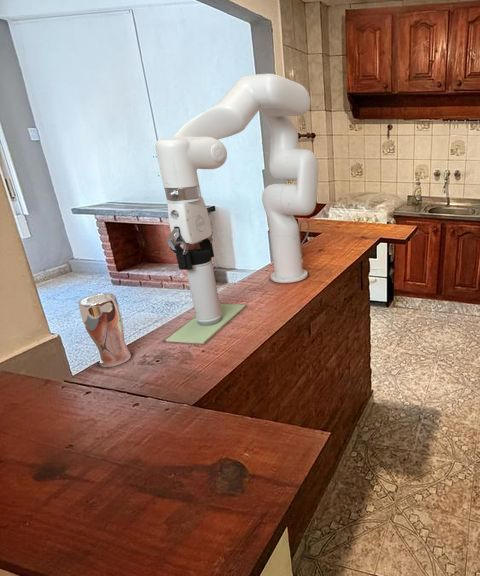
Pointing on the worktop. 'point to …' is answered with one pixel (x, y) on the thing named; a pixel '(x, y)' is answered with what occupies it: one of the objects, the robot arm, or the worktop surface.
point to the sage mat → (204, 327)
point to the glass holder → (300, 230)
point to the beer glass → (105, 328)
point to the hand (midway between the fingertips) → (197, 263)
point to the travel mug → (203, 288)
